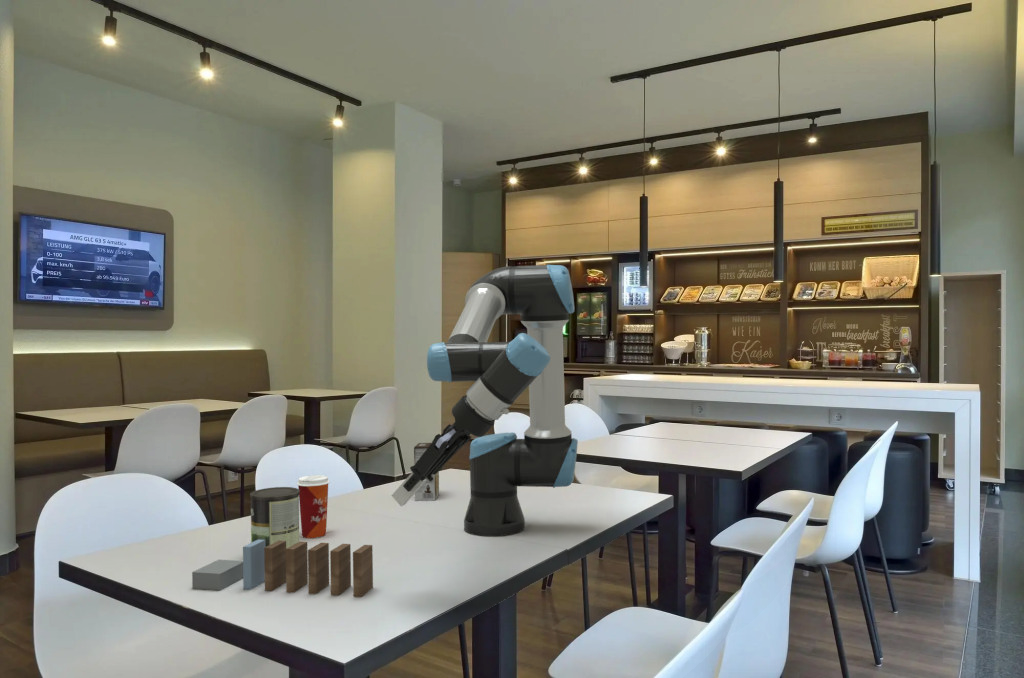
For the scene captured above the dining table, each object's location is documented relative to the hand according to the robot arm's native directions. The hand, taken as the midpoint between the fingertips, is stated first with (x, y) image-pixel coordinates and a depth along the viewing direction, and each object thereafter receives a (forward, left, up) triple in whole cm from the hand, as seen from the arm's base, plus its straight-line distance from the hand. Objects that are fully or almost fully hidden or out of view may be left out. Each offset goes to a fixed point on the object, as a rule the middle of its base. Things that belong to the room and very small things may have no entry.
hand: (398, 500), depth 129 cm
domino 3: (+20, +1, -17) cm, 27 cm away
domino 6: (+7, +1, -17) cm, 18 cm away
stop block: (+37, +1, -17) cm, 41 cm away
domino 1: (+29, +1, -17) cm, 34 cm away
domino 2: (+25, +1, -17) cm, 30 cm away
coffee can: (+36, -17, -17) cm, 43 cm away
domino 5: (+11, +1, -17) cm, 21 cm away
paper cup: (+36, -34, -17) cm, 53 cm away
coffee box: (+23, -79, -17) cm, 84 cm away
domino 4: (+16, +1, -17) cm, 23 cm away
